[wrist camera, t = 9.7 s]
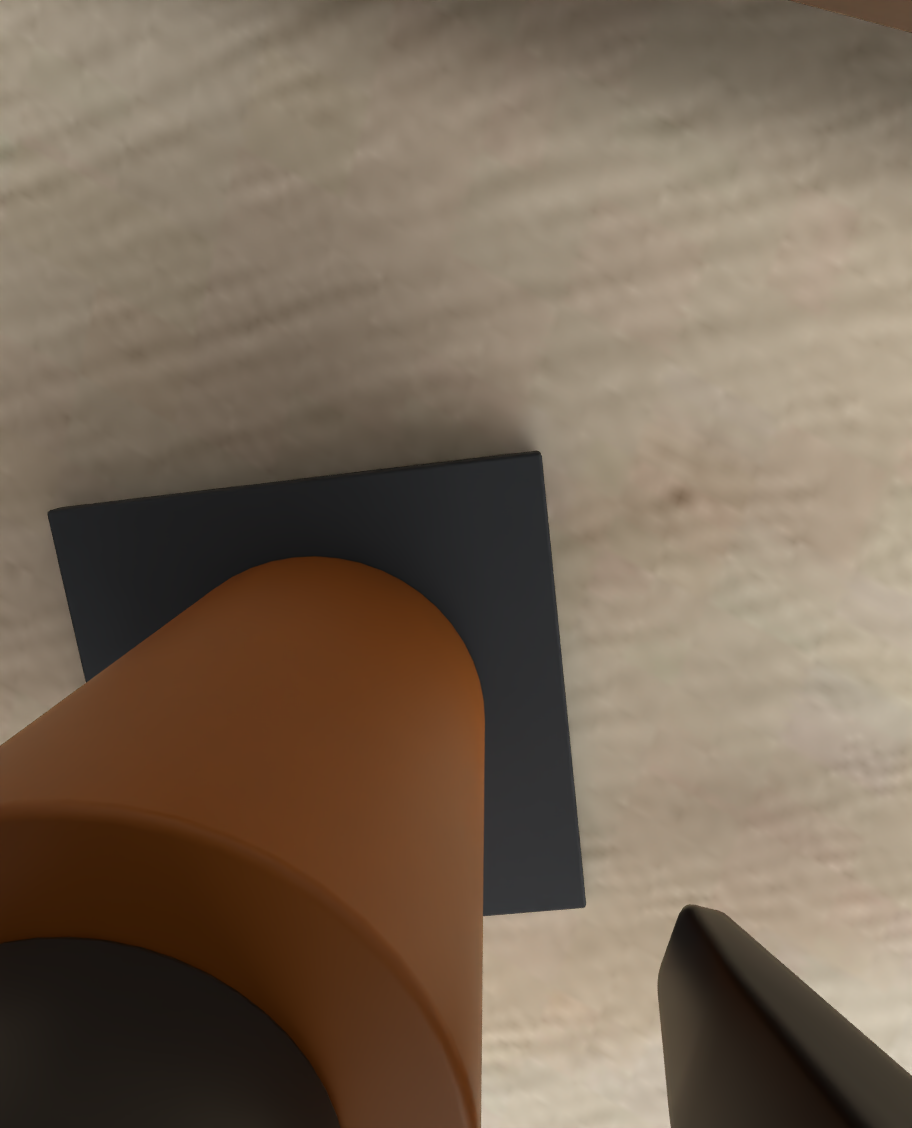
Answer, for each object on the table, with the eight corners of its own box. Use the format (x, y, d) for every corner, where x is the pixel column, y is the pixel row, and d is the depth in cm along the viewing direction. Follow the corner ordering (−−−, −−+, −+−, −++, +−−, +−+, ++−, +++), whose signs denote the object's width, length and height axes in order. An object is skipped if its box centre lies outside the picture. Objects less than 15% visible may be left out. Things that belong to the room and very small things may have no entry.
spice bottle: (193, 874, 13) (-497, 2013, 4) (130, 575, 12) (-1006, 1166, 3) (501, 847, 12) (538, 2017, 3) (463, 537, 11) (376, 1071, 2)
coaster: (154, 929, 13) (144, 945, 13) (59, 507, 12) (45, 511, 11) (583, 893, 13) (586, 909, 12) (539, 450, 11) (541, 452, 11)
